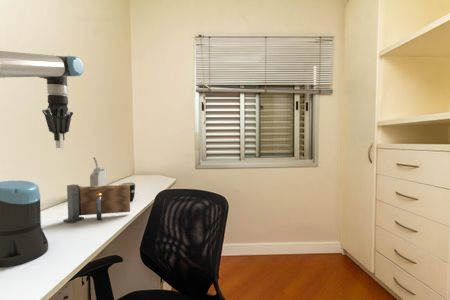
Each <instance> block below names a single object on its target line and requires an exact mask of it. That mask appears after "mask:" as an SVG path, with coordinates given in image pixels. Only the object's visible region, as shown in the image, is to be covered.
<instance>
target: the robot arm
mask: <svg viewBox="0 0 450 300" xmlns="http://www.w3.org/2000/svg"><path fill="white" fill-rule="evenodd" d="M83 73H84V64H83V62H82V60H81V58H79V57H78V56H73V55H72V56H71V55H68V56H67V55H66V56H64V55H53V54H52V55H51V54H40V53H39V54H38V53H30V52H29V53H28V52H17V51H16V52H15V51H8V50H7V51H5V50H0V78H3V79H5V78H40V79H44V80H46V88H47V89H46V90H47V103H48V105H47V108H46V109H42V113H43V115H44V117H45V121H46V124H47V128H48V131H49V132H50V133H52V134H53V139H54V141H55V148H56V149H64V141H65V134H67V133H68V132H70V125H71V120H72V116H73V115H74V112H73V111H70V110H69V108H68V104H69V97H68V95H69V93H68V91H69V90H68V77H79V76H81V75H83ZM41 211H42V210H41V193H40V187H39V186H38V184H37V183H36V182H32V181H28V180H5V181H4V180H3V181H0V268H6V267H7V268H8V267H13V266H17V265H21V264H25V263H27V262H31V261H34V260H35V259H38V258H40V257H41V256H43V255H44V254H46V253H47V252H48V251H49V241H48V238H47V236H46V235H45V232H44V230H43V229H42V219H41Z"/></svg>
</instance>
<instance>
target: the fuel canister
mask: <svg viewBox="0 0 450 300" xmlns="http://www.w3.org/2000/svg"><path fill="white" fill-rule="evenodd" d="M92 159H93V160H94V163H95V167H94V169H93V171H92V173H90V175H89V186H103V185H108V181H107V179H108V178H107V167H106V166H100V167H99V166H98V160H97V159H96V157H93V158H92Z"/></svg>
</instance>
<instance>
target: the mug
mask: <svg viewBox="0 0 450 300" xmlns="http://www.w3.org/2000/svg"><path fill="white" fill-rule="evenodd" d="M125 184H130V203H131V202H133V201H134V199H135V192H136V183H135V182H121V183H119V184H117V185H125Z"/></svg>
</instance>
